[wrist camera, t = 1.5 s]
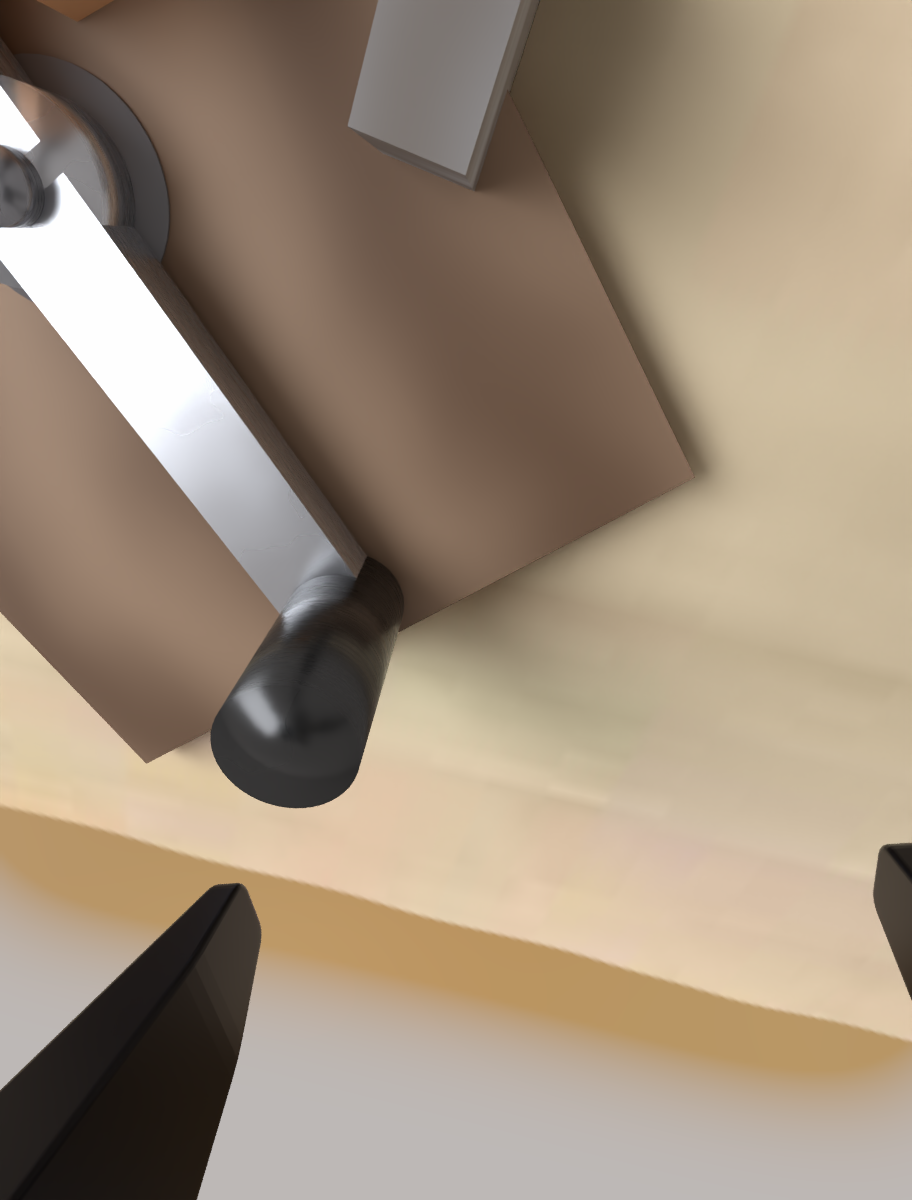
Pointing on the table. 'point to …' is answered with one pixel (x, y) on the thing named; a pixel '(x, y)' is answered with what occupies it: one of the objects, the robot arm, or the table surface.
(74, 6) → the block
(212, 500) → the lever
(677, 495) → the table surface
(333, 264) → the press bench
